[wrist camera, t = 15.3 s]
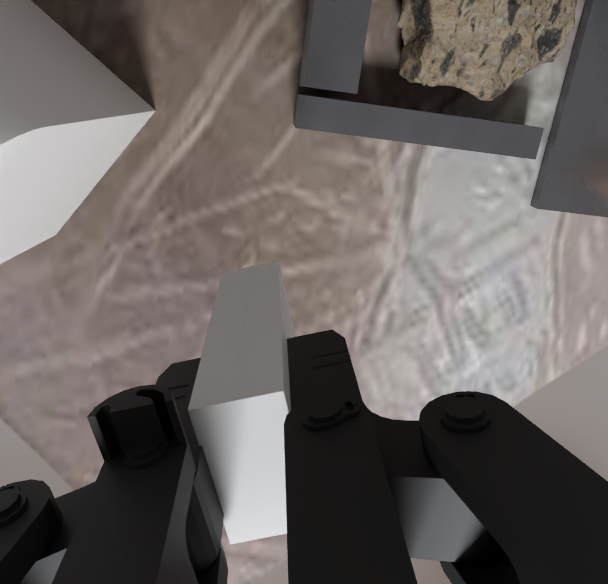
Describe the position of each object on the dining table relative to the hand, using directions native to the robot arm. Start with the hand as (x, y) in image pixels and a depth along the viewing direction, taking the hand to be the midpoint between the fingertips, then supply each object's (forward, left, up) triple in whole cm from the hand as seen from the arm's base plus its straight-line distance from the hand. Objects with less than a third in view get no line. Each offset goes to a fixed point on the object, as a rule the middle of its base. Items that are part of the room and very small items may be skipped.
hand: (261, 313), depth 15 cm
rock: (-12, +13, -27) cm, 32 cm away
